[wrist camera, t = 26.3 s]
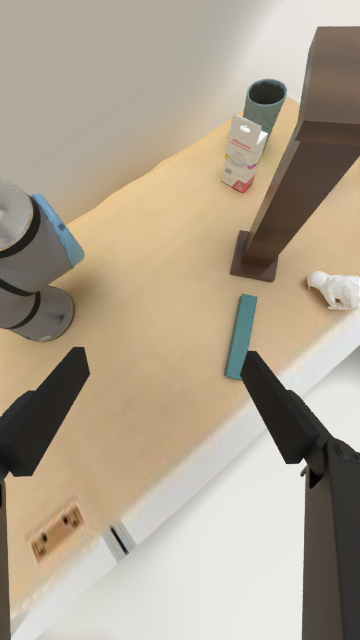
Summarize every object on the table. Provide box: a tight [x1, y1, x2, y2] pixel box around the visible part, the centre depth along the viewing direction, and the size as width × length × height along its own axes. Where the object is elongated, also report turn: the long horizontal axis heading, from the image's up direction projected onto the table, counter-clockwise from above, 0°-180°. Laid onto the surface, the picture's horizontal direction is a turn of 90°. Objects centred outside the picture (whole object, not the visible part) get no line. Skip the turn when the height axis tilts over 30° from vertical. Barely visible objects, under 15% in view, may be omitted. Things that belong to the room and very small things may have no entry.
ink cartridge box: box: [222, 114, 268, 193], centre depth 44 cm, size 9×5×15 cm, turn 48°
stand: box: [230, 26, 360, 282], centre depth 30 cm, size 15×11×30 cm
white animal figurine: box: [307, 271, 360, 310], centre depth 37 cm, size 6×8×12 cm
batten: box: [224, 294, 257, 381], centre depth 39 cm, size 20×4×2 cm, turn 165°
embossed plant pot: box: [243, 79, 287, 152], centre depth 48 cm, size 10×10×12 cm
